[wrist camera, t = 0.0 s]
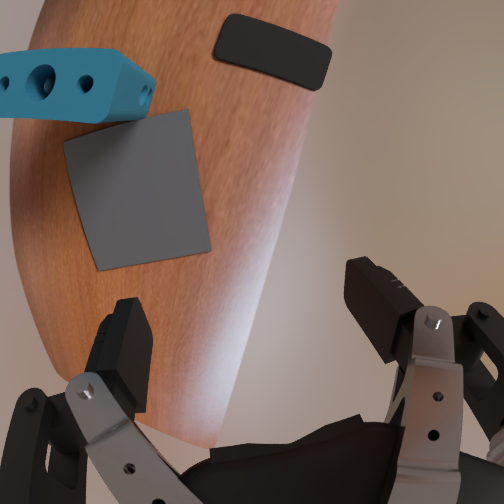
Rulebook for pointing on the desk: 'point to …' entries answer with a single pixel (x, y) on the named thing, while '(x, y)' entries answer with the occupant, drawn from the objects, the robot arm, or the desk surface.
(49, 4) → the desk surface
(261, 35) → the phone
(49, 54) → the block
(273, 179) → the desk surface
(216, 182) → the desk surface
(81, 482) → the robot arm
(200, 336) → the desk surface
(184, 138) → the mat
